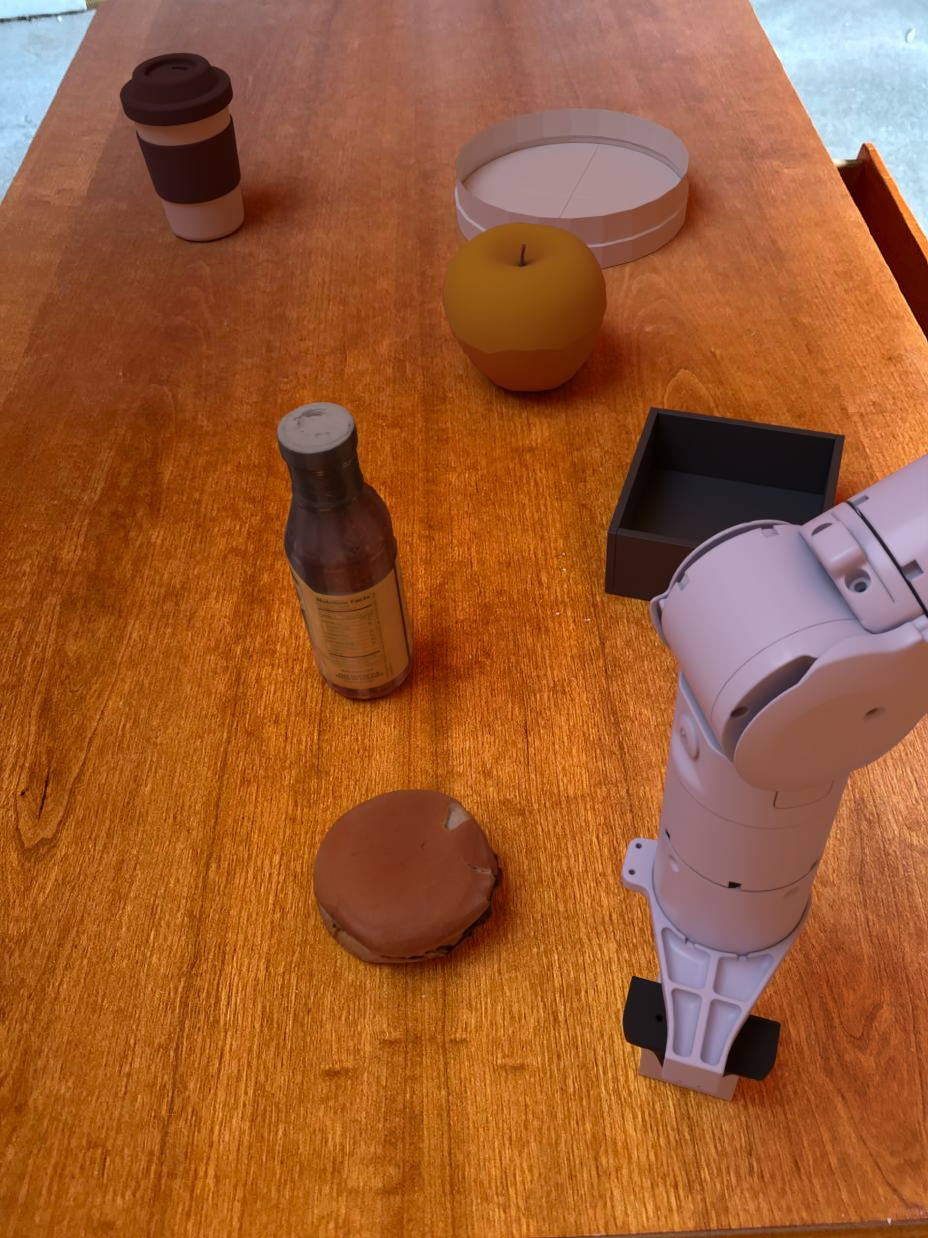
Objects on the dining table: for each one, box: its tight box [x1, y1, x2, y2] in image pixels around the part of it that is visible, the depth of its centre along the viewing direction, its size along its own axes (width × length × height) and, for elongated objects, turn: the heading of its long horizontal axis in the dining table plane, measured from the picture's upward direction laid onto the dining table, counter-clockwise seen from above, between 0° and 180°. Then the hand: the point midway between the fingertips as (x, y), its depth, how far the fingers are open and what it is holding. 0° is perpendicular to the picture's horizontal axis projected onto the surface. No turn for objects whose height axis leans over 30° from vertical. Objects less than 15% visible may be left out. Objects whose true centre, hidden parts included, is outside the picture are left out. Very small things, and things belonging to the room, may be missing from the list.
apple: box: [440, 222, 608, 392], centre depth 88 cm, size 13×13×11 cm
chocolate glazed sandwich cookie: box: [312, 788, 504, 964], centre depth 60 cm, size 10×9×5 cm
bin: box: [604, 406, 846, 602], centre depth 76 cm, size 13×13×6 cm
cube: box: [638, 970, 740, 1102], centre depth 54 cm, size 4×4×4 cm
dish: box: [454, 107, 690, 270], centre depth 108 cm, size 22×22×5 cm
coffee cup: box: [119, 52, 245, 242], centre depth 106 cm, size 10×10×15 cm
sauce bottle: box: [276, 401, 414, 700], centre depth 65 cm, size 6×6×20 cm
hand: (704, 987), depth 50 cm, fingers open, 7 cm apart
